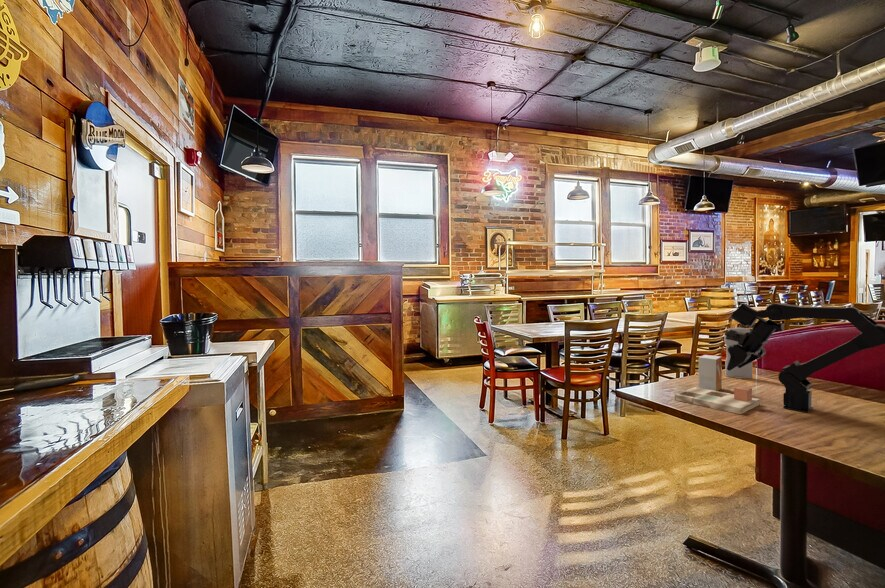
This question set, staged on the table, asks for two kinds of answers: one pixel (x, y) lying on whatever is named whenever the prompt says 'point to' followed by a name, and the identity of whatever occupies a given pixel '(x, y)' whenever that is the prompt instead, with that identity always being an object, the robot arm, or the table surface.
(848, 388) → the table surface
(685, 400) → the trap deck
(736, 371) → the grey upright slab
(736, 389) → the block
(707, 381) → the small box
